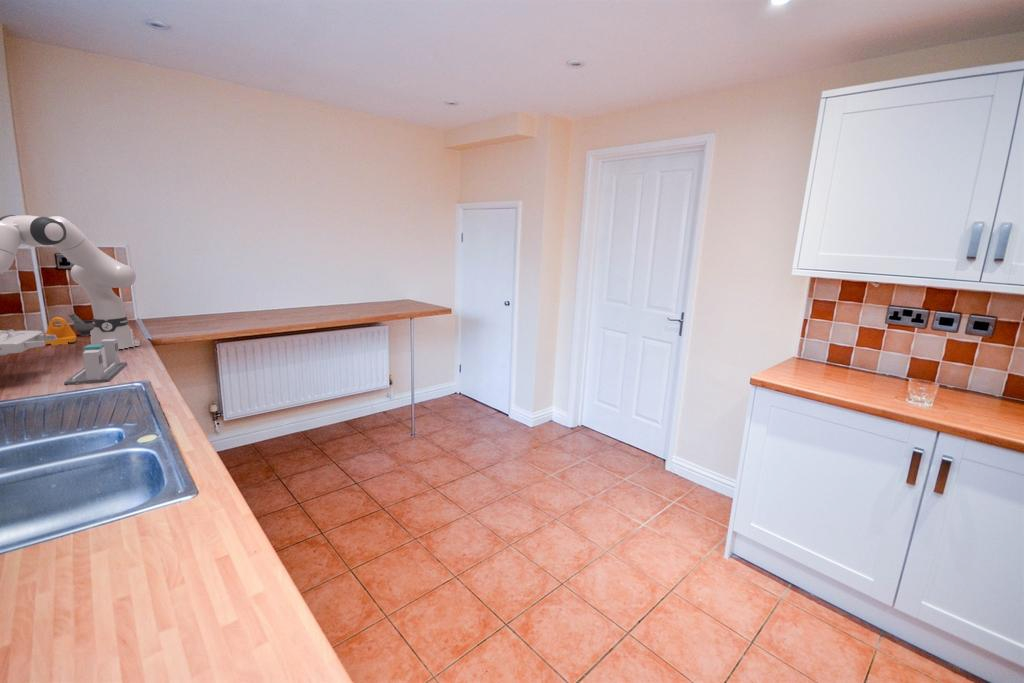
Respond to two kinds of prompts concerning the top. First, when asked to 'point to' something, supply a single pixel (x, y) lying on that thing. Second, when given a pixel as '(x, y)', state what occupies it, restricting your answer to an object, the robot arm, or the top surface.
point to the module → (98, 347)
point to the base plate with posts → (99, 364)
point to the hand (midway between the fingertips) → (50, 340)
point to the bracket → (60, 332)
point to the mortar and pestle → (82, 325)
